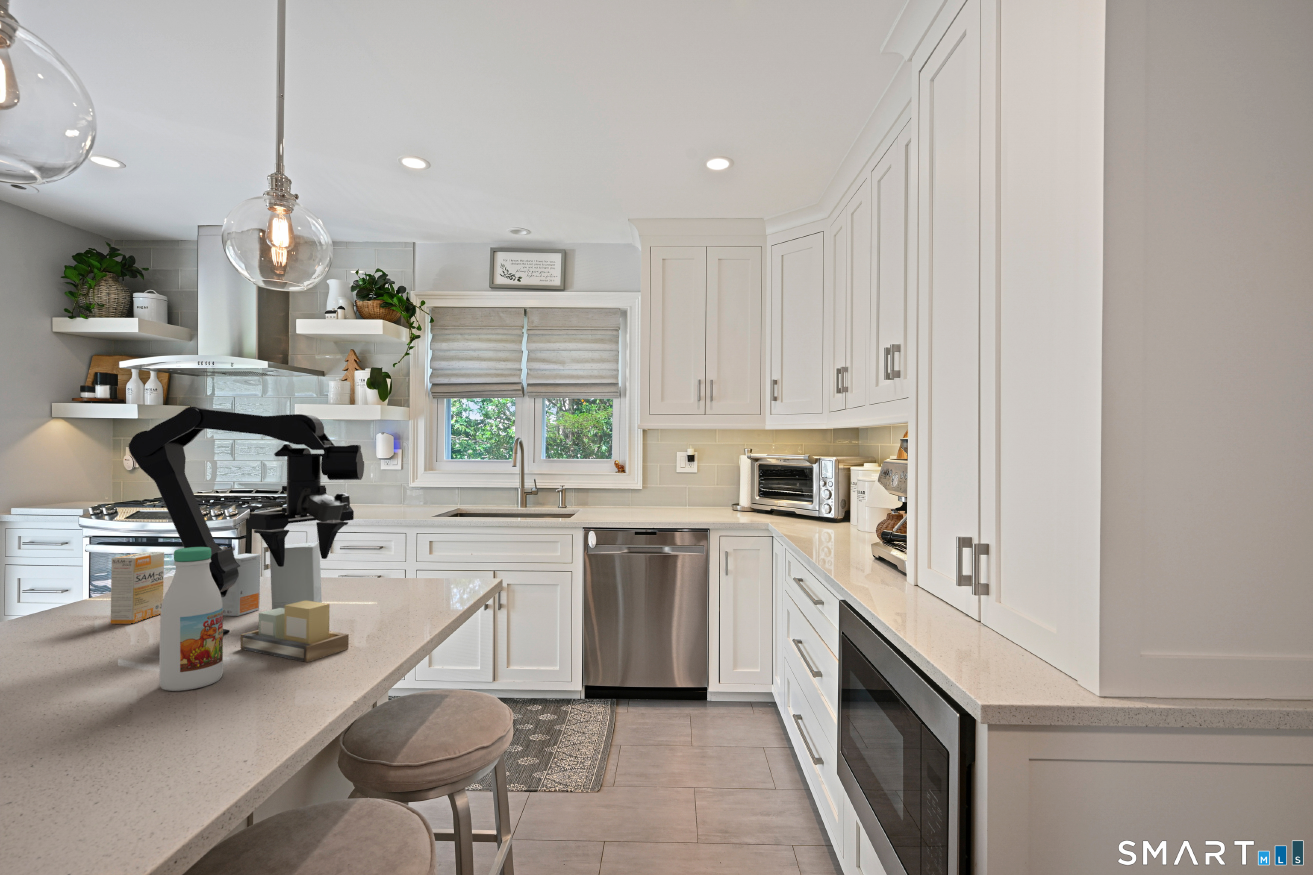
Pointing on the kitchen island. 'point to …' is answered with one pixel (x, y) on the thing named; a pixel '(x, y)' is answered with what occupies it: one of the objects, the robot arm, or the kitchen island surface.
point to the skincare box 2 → (296, 575)
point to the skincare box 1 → (244, 587)
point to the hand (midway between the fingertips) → (303, 562)
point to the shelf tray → (295, 646)
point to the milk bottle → (191, 624)
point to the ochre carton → (306, 622)
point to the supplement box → (136, 587)
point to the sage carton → (272, 623)
